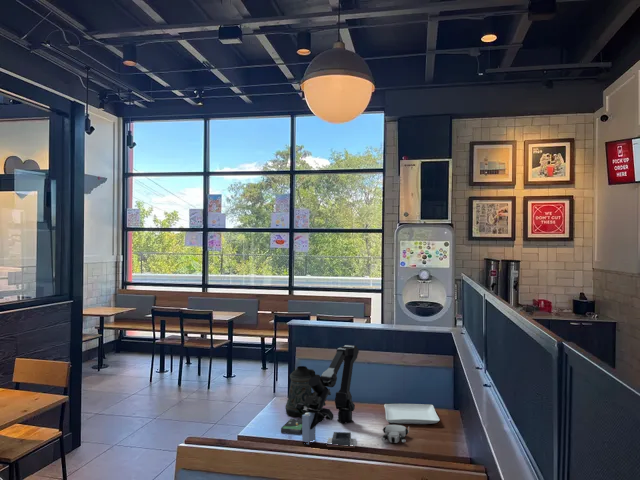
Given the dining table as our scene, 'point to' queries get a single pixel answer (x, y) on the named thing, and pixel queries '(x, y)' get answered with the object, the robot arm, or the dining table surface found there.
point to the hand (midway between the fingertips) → (307, 428)
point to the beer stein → (299, 389)
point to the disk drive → (292, 427)
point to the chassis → (342, 439)
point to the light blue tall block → (308, 427)
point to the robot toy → (395, 433)
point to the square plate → (411, 414)
